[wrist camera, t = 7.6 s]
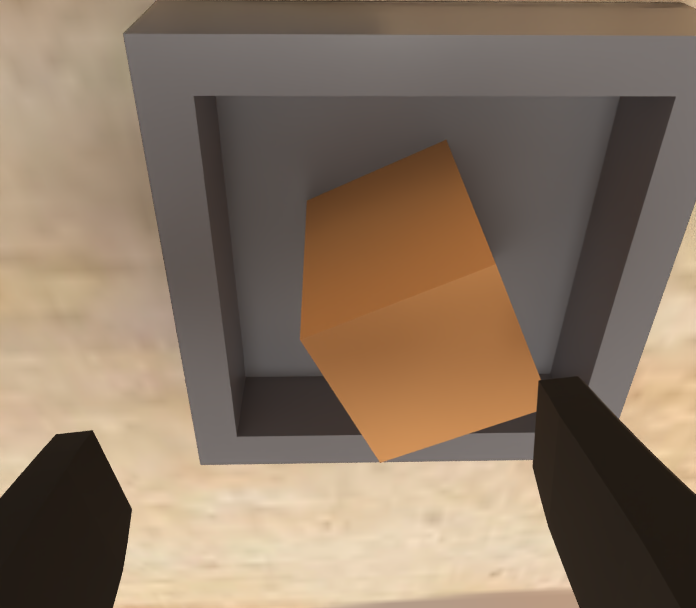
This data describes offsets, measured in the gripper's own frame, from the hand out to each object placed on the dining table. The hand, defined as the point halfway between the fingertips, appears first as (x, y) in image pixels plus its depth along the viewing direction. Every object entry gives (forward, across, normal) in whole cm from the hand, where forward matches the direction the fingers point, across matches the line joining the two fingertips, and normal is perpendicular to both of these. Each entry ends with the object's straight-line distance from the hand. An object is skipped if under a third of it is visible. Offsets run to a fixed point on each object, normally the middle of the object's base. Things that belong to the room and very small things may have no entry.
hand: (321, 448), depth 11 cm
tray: (+9, -2, +1) cm, 10 cm away
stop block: (+9, -2, +1) cm, 9 cm away
